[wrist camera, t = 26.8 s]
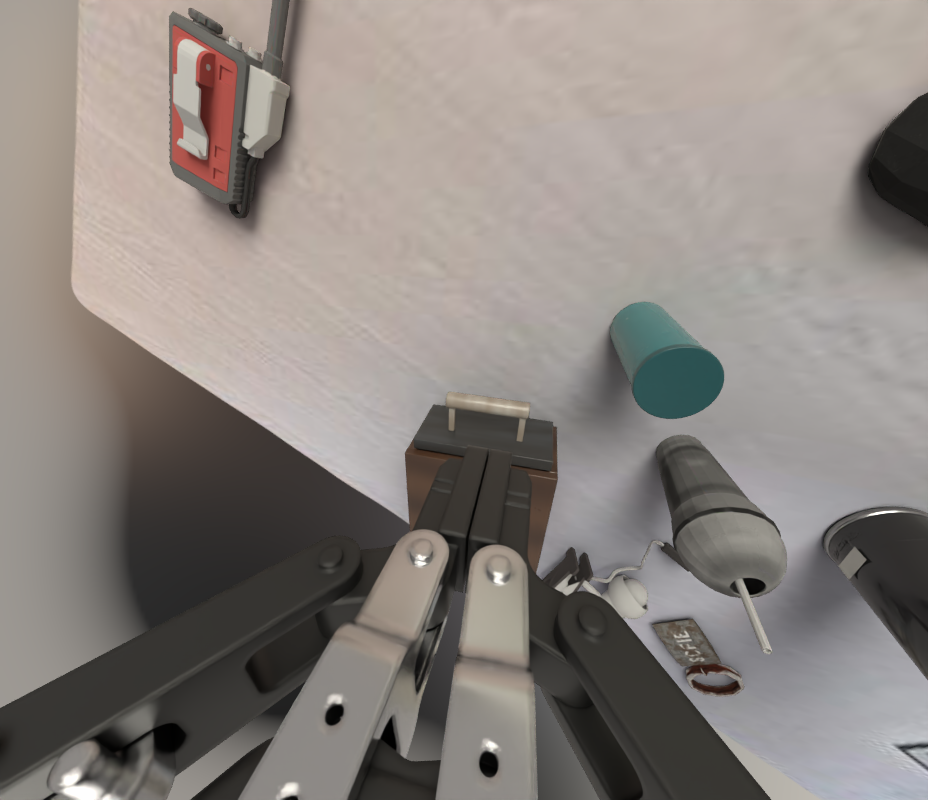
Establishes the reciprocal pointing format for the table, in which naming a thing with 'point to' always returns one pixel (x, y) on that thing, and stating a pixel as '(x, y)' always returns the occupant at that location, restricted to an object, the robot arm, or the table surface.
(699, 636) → the keychain
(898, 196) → the gaming mouse
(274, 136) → the walkie-talkie
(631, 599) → the clip-on lamp
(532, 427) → the drawer
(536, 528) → the cabinet
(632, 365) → the tin
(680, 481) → the beverage cup
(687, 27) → the table surface
